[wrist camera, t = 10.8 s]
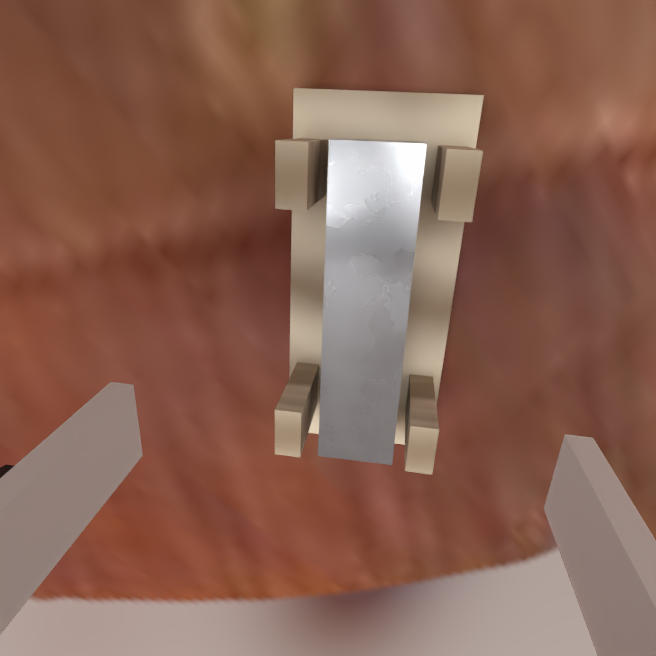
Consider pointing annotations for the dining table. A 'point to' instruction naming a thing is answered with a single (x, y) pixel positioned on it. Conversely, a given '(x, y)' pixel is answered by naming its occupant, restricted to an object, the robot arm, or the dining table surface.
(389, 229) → the bar
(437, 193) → the rack
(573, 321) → the dining table surface
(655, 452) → the dining table surface
